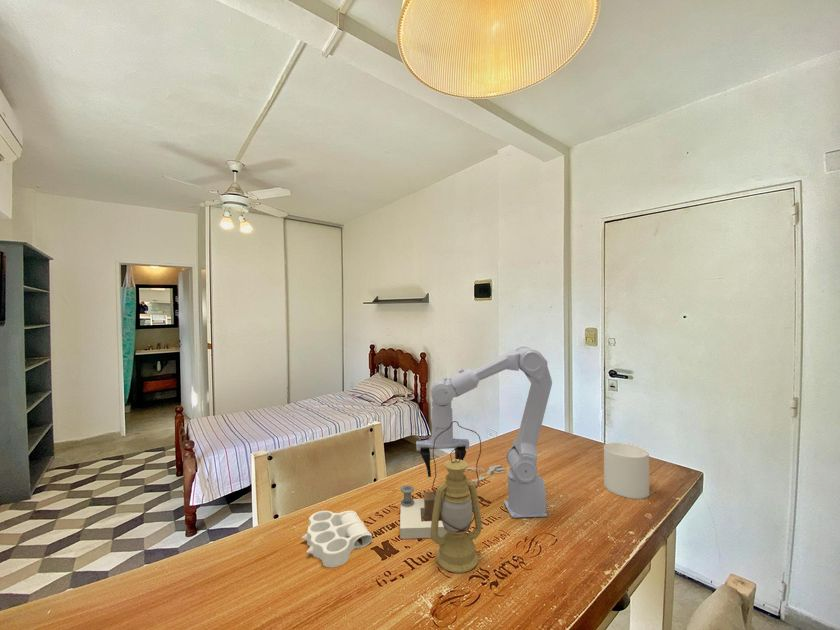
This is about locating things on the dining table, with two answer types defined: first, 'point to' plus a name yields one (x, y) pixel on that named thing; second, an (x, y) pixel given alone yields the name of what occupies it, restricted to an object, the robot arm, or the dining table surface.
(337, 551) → the white holed flat piece
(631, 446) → the cup
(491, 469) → the pliers
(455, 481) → the lantern
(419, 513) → the slotted board
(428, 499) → the block
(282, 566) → the dining table surface
